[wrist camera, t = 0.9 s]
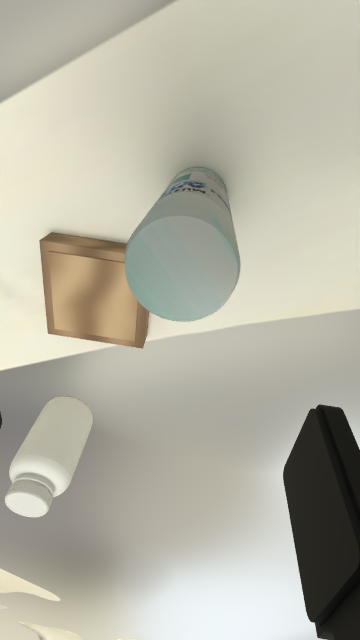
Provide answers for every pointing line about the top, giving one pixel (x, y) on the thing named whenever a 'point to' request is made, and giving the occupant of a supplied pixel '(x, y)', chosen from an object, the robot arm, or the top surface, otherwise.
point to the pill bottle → (48, 456)
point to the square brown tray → (90, 291)
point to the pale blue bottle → (185, 250)
